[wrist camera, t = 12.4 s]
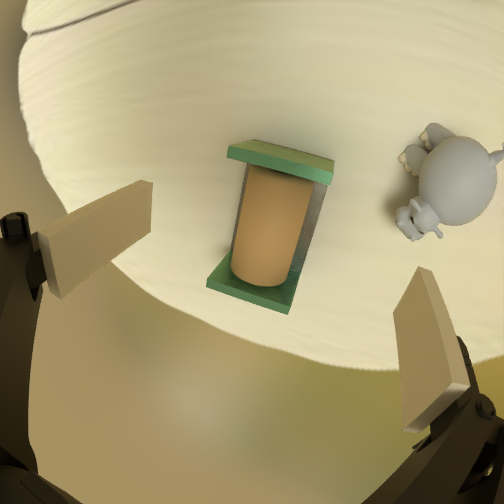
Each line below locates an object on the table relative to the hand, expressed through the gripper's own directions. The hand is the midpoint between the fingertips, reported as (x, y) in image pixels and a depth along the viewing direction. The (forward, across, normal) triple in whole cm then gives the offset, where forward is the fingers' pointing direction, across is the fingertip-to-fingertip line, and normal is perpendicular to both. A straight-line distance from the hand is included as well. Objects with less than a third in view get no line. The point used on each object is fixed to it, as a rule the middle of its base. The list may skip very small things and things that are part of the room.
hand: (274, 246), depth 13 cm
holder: (+24, -3, -8) cm, 25 cm away
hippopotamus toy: (+24, +15, +3) cm, 29 cm away
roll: (+22, -3, -8) cm, 24 cm away
